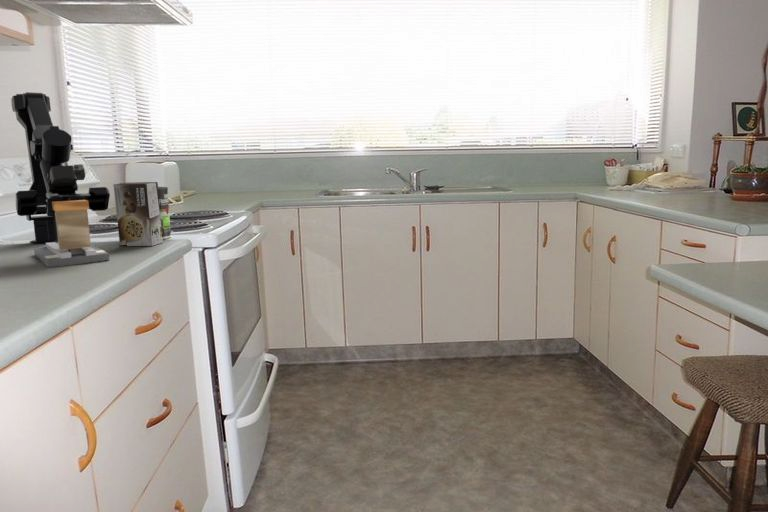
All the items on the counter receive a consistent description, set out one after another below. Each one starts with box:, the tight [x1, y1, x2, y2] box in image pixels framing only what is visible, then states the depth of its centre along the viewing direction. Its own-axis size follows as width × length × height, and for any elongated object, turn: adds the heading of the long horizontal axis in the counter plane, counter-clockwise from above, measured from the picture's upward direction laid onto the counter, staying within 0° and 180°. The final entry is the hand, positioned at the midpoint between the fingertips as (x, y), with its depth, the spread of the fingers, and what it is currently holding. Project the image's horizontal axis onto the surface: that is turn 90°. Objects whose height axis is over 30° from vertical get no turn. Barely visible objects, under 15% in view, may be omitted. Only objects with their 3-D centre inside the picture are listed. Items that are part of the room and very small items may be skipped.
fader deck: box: [33, 242, 110, 268], centre depth 138 cm, size 20×12×3 cm, turn 37°
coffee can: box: [158, 186, 172, 240], centre depth 166 cm, size 10×10×14 cm
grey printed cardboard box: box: [112, 181, 164, 247], centre depth 155 cm, size 9×6×16 cm
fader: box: [52, 200, 92, 255], centre depth 132 cm, size 4×7×12 cm, turn 127°
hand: (71, 229), depth 133 cm, fingers closed, pressing on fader
